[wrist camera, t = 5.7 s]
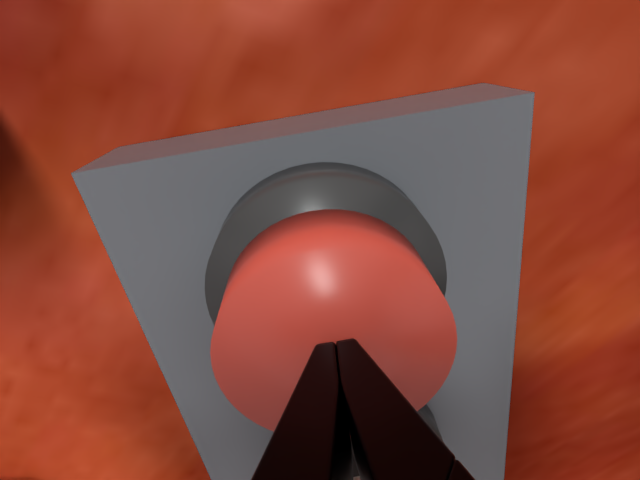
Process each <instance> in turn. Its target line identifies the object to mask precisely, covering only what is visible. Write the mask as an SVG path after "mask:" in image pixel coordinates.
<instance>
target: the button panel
mask: <svg viewBox="0 0 640 480" xmlns="http://www.w3.org/2000/svg"><path fill="white" fill-rule="evenodd" d="M534 93H535V92H530V91H525V90H519V89H514V88H508V87H503V86H498V85H492V84H487V83H480V84H474V85H469V86H463V87H457V88H451V89H446V90H440V91H434V92H429V93H423V94H417V95H412V96H406V97H400V98H395V99H389V100H383V101H377V102H372V103H366V104H360V105H355V106H349V107H343V108H338V109H332V110H326V111H321V112H315V113H309V114H304V115H298V116H292V117H286V118H281V119H275V120H269V121H264V122H258V123H252V124H247V125H241V126H235V127H230V128H224V129H218V130H212V131H207V132H201V133H195V134H190V135H184V136H178V137H173V138H167V139H161V140H156V141H150V142H144V143H138V144H133V145H127V146H121V147H117V148H116V149H114V150H112V151H110V152H108V153H107V154H105V155H103V156H101V157H100V158H98V159H96V160H94V161H92V162H91V163H89V164H87V165H85V166H83V167H82V168H80V169H78V170H76V171H74V172H73V173H71V174H72V177H73V179H74V181H75V183H76V185H77V188H78V190H79V192H80V194H81V196H82V198H83V201H84V203H85V205H86V207H87V209H88V212H89V214H90V216H91V218H92V220H93V222H94V225H95V227H96V229H97V231H98V233H99V236H100V238H101V240H102V242H103V244H104V246H105V249H106V251H107V253H108V255H109V257H110V260H111V262H112V264H113V266H114V268H115V270H116V273H117V275H118V277H119V279H120V281H121V284H122V286H123V288H124V290H125V292H126V294H127V297H128V299H129V301H130V303H131V305H132V308H133V310H134V312H135V314H136V316H137V318H138V321H139V323H140V325H141V327H142V329H143V332H144V334H145V336H146V338H147V340H148V342H149V345H150V347H151V349H152V351H153V353H154V356H155V358H156V360H157V362H158V364H159V367H160V369H161V371H162V373H163V375H164V377H165V380H166V382H167V384H168V386H169V388H170V391H171V393H172V395H173V397H174V399H175V401H176V404H177V406H178V408H179V410H180V412H181V415H182V417H183V419H184V421H185V423H186V425H187V428H188V430H189V432H190V434H191V436H192V439H193V441H194V443H195V445H196V447H197V449H198V452H199V454H200V456H201V458H202V460H203V463H204V465H205V467H206V469H207V471H208V473H209V476H210V478H211V480H251V478H252V476H253V474H254V472H255V470H256V468H257V466H258V464H259V462H260V460H261V458H262V455H263V453H264V451H265V449H266V447H267V445H268V443H269V441H270V439H271V437H272V435H273V431H271V430H268V429H266V428H264V427H262V426H260V425H258V424H256V423H255V422H253V421H252V420H250V419H248V418H247V417H245V416H244V415H243V414H242V413H241V412H239V411H238V410H237V409H236V408H235V407H234V406H233V405H232V404H231V403H230V402H229V400H228V399H227V398H226V396H225V395H224V393H223V392H222V391H221V389H220V387H219V385H218V383H217V381H216V379H215V376H214V372H213V369H212V365H211V356H210V349H211V338H212V334H213V330H214V326H215V323H216V319H217V316H218V312H219V309H220V306H221V302H222V299H223V295H224V292H225V289H226V285H227V282H228V278H229V275H230V273H231V270H232V268H233V265H234V263H235V262H236V260H237V258H238V257H239V255H240V253H241V252H242V251H243V250H244V248H245V247H246V246H247V245H248V244H249V242H251V241H252V240H253V239H254V238H255V237H256V236H257V235H258V234H259V233H261V232H262V231H264V230H265V229H267V228H268V227H269V226H271V225H273V224H275V223H277V222H279V221H281V220H283V219H285V218H288V217H291V216H293V215H296V214H300V213H304V212H308V211H314V210H323V209H342V210H349V211H356V212H360V213H363V214H367V215H370V216H373V217H375V218H377V219H380V220H382V221H384V222H386V223H387V224H389V225H391V226H392V227H394V228H395V229H396V230H398V231H399V232H400V233H402V234H403V235H404V236H405V237H406V238H407V239H408V240H409V241H410V242H411V244H412V245H413V246H414V248H415V249H416V251H417V252H418V254H419V255H420V257H421V258H422V260H423V262H424V264H425V265H426V267H427V269H428V270H429V272H430V274H431V275H432V277H433V279H434V280H435V282H436V284H437V285H438V287H439V289H440V290H441V292H442V294H443V295H444V297H445V299H446V301H447V302H448V305H449V307H450V309H451V311H452V313H453V316H454V320H455V324H456V331H457V348H456V354H455V358H454V362H453V365H452V367H451V370H450V372H449V375H448V376H447V378H446V380H445V382H444V383H443V385H442V386H441V388H440V389H439V390H438V392H437V393H436V394H435V395H434V396H433V397H432V398H431V399H430V400H429V402H428V403H427V404H426V405H424V406H423V407H422V408H421V409H419V410H418V411H417V412H418V413H419V414H420V415H421V417H422V418H423V419H424V420H425V421H426V423H427V424H428V425H429V426H430V427H431V428H432V430H433V431H434V432H435V433H436V434H437V435H438V437H439V438H440V439H441V440H442V441H443V443H444V444H445V445H446V446H447V447H448V448H449V450H450V451H451V452H452V453H453V454H454V455H455V460H459V461H460V462H461V463H462V465H463V466H464V467H465V468H466V469H467V470H468V472H469V473H470V474H471V475H472V476H473V478H474V479H475V480H504V472H505V460H506V447H507V434H508V422H509V409H510V396H511V384H512V371H513V359H514V346H515V333H516V321H517V308H518V295H519V283H520V270H521V257H522V245H523V232H524V219H525V207H526V194H527V181H528V169H529V156H530V144H531V131H532V118H533V106H534ZM351 445H352V442H351ZM352 456H353V477H357V476H359V472H358V468H357V465H356V461H355V456H354V452H353V447H352Z"/></svg>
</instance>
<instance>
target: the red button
mask: <svg viewBox="0 0 640 480" xmlns="http://www.w3.org/2000/svg"><path fill="white" fill-rule="evenodd" d="M351 338H354V339H356V340H357V341H358V342H359V344H360V345H361V346H362V347H363V348H364V350H365V351H366V352H367V353H368V354H369V355H370V357H371V358H372V359H373V360H374V361H375V362H376V364H377V365H378V366H379V367H380V368H381V370H382V371H383V372H384V373H385V374H386V375H387V377H388V378H389V379H390V380H391V381H392V382H393V384H394V385H395V386H396V387H397V388H398V390H399V391H400V392H401V393H402V394H403V395H404V397H405V398H406V399H407V400H408V401H409V402H410V404H411V405H412V406H413V407H414V408H415V410H416V411H418V410H419V409H421V408H422V407H423V406H424V405H426V404H427V403H428V402H429V400H430V399H431V398H432V397H433V396H434V395H435V394H436V393H437V392H438V390H439V389H440V388H441V386H442V385H443V383H444V382H445V380H446V378H447V376H448V375H449V372H450V370H451V367H452V365H453V362H454V358H455V354H456V348H457V331H456V324H455V320H454V316H453V313H452V311H451V309H450V307H449V305H448V302H447V301H446V299H445V297H444V295H443V294H442V292H441V290H440V289H439V287H438V285H437V284H436V282H435V280H434V279H433V277H432V275H431V274H430V272H429V270H428V269H427V267H426V265H425V264H424V262H423V260H422V258H421V257H420V255H419V254H418V252H417V251H416V249H415V248H414V246H413V245H412V244H411V242H410V241H409V240H408V239H407V238H406V237H405V236H404V235H403V234H402V233H400V232H399V231H398V230H396V229H395V228H394V227H392V226H391V225H389V224H387V223H386V222H384V221H382V220H380V219H377V218H375V217H373V216H370V215H367V214H363V213H360V212H356V211H349V210H342V209H323V210H314V211H308V212H304V213H300V214H296V215H293V216H291V217H288V218H285V219H283V220H281V221H279V222H277V223H275V224H273V225H271V226H269V227H268V228H267V229H265V230H264V231H262V232H261V233H259V234H258V235H257V236H256V237H255V238H254V239H253V240H252V241H251V242H249V244H248V245H247V246H246V247H245V248H244V250H243V251H242V252H241V253H240V255H239V257H238V258H237V260H236V262H235V263H234V265H233V268H232V270H231V273H230V275H229V278H228V282H227V285H226V289H225V292H224V295H223V299H222V302H221V306H220V309H219V312H218V316H217V319H216V323H215V326H214V330H213V334H212V338H211V349H210V356H211V365H212V369H213V372H214V376H215V379H216V381H217V383H218V385H219V387H220V389H221V391H222V392H223V393H224V395H225V396H226V398H227V399H228V400H229V402H230V403H231V404H232V405H233V406H234V407H235V408H236V409H237V410H238V411H239V412H241V413H242V414H243V415H244V416H245V417H247V418H248V419H250V420H252V421H253V422H255V423H256V424H258V425H260V426H262V427H264V428H266V429H268V430H271V431H273V432H274V430H275V428H276V426H277V424H278V422H279V420H280V418H281V416H282V414H283V412H284V410H285V407H286V405H287V403H288V401H289V399H290V397H291V395H292V393H293V391H294V389H295V387H296V384H297V382H298V380H299V378H300V376H301V374H302V372H303V370H304V368H305V366H306V364H307V362H308V359H309V357H310V355H311V353H312V351H313V349H314V347H315V346H316V345H317V344H320V343H326V342H334V343H335V344H336V342H337V341H339V340H345V339H351Z"/></svg>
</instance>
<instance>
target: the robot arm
mask: <svg viewBox="0 0 640 480" xmlns="http://www.w3.org/2000/svg"><path fill="white" fill-rule="evenodd" d="M351 442H352V445H351ZM352 447H353V452H354V456H355V461H356V465H357V468H358V472H359V476H360V480H475V479H474V478H473V476H472V475H471V474H470V473H469V472H468V470H467V469H466V468H465V467H464V466H463V465H462V463H461V462H460V461H459V460H455V455H454V454H453V453H452V452H451V451H450V450H449V448H448V447H447V446H446V445H445V444H444V443H443V441H442V440H441V439H440V438H439V437H438V435H437V434H436V433H435V432H434V431H433V430H432V428H431V427H430V426H429V425H428V424H427V423H426V421H425V420H424V419H423V418H422V417H421V415H420V414H419V413H418V412H417V411H416V410H415V408H414V407H413V406H412V405H411V404H410V402H409V401H408V400H407V399H406V398H405V397H404V395H403V394H402V393H401V392H400V391H399V390H398V388H397V387H396V386H395V385H394V384H393V382H392V381H391V380H390V379H389V378H388V377H387V375H386V374H385V373H384V372H383V371H382V370H381V368H380V367H379V366H378V365H377V364H376V362H375V361H374V360H373V359H372V358H371V357H370V355H369V354H368V353H367V352H366V351H365V350H364V348H363V347H362V346H361V345H360V344H359V342H358V341H357V340H356V339H354V338H351V339H345V340H339V341H337V342H336V344H335V343H334V342H326V343H320V344H317V345H316V346H315V347H314V349H313V351H312V353H311V355H310V357H309V359H308V362H307V364H306V366H305V368H304V370H303V372H302V374H301V376H300V378H299V380H298V382H297V384H296V387H295V389H294V391H293V393H292V395H291V397H290V399H289V401H288V403H287V405H286V407H285V410H284V412H283V414H282V416H281V418H280V420H279V422H278V424H277V426H276V428H275V430H274V432H273V435H272V437H271V439H270V441H269V443H268V445H267V447H266V449H265V451H264V453H263V455H262V458H261V460H260V462H259V464H258V466H257V468H256V470H255V472H254V474H253V476H252V478H251V480H353V456H352Z"/></svg>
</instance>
